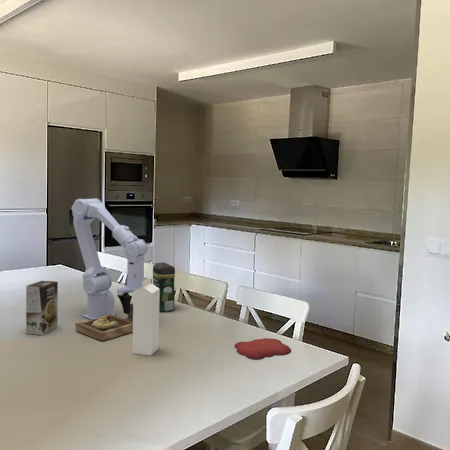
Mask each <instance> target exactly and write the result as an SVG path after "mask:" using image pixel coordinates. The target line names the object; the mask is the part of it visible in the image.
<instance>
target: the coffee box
mask: <svg viewBox="0 0 450 450" xmlns="http://www.w3.org/2000/svg"><path fill="white" fill-rule="evenodd" d="M58 286H59V283H58V281H54V280H40V281H37V282H34V283H30V284H28V285H26V288H25V289H26V290H25V292H26V293H25V295H26V297H25V299H26V300H25V306H26V307H25V308H26V309H25V311H26V312H25V314H26V315H25V316H26V317H25V321H26V322H25V326H26V329H25V334H26V335H27V334H28V335H36V336H37V335H38V336H44V335H47V334H48V333H49V332H51V331H53V330H56V329H58V326H59V325H58V321H59V319H58V315H59V314H58V311H59V307H58V293H59V292H58V290H59V289H58Z"/></svg>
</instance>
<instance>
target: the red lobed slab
mask: <svg viewBox="0 0 450 450" xmlns="http://www.w3.org/2000/svg"><path fill="white" fill-rule="evenodd" d="M234 348H235V349H236V353H237V354H238V355H240V356H244V357H246V358H247V359H248V360H252V361H253V360H254V361H259V360H260V361H261V360H263V359H265V358H272V357H274V356H278V357H279V356H286V355H289V354H291V352H292V348H290V347H289V345H287V344H284V343H283V342H282V341H281V340H280V339H276V338H264V337H263V338H258V339H257V338H256V339H253V340H250V341H249V340H248V341H239V342H235V344H234Z"/></svg>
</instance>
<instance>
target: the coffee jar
mask: <svg viewBox="0 0 450 450" xmlns="http://www.w3.org/2000/svg"><path fill="white" fill-rule="evenodd" d="M175 269H176V268H175V267H174V266H173V265H171V264H168V263H167V262H156V263H155V264H154V265H153V266H152V284H153V285H155V286H156V287H158V288H159V289H160V295H159V313H160V312H162V313H168V312H171V311H174V310H175V276H176V270H175Z"/></svg>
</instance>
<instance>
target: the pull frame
mask: <svg viewBox="0 0 450 450" xmlns="http://www.w3.org/2000/svg"><path fill="white" fill-rule="evenodd" d="M105 317H106V319H107V321H109V323H110V322H113V321H114V322H117V323H118V325H119V327H117V328H114V329H110V330H107V331H100V330H97V329H95V328H92V327H91V326H92V323H93V322H94V321H96V320H98V319H105ZM75 332H78V333H81V334H83V335H86V336H87V337H91V338H94V339H96V340H98V341H101V342H104V341H107V340H110V339H114V338H116V337H120V336H123V335H126V334H130V333H133V303H130V312H129V314H127V317H126V318H123V317H119V316H116V315H115V316H114V315H107V316H103V317H99V318H95V319H88V320H84V321H80V322H76V323H75Z"/></svg>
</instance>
